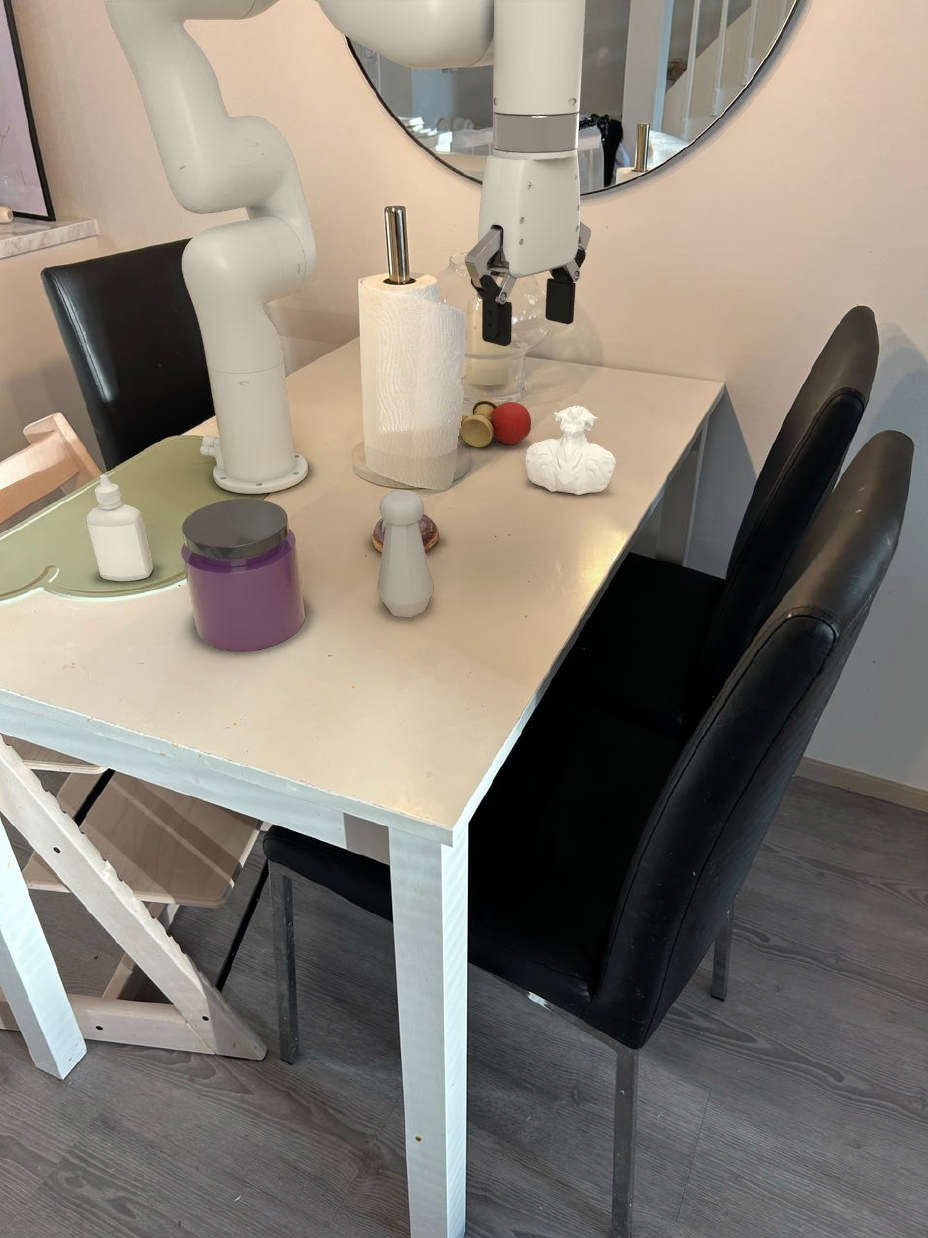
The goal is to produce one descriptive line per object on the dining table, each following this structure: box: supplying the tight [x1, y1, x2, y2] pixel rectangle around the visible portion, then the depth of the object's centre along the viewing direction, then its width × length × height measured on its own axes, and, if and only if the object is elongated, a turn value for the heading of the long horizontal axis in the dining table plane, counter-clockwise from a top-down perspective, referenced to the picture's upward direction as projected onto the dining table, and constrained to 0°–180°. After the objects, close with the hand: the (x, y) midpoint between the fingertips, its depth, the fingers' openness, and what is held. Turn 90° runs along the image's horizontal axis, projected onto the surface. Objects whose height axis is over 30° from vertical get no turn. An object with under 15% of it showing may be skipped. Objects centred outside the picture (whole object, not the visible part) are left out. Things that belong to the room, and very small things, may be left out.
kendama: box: [459, 397, 532, 448], centre depth 131 cm, size 8×6×18 cm
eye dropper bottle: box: [85, 474, 154, 582], centre depth 97 cm, size 4×6×12 cm
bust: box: [524, 404, 617, 496], centre depth 117 cm, size 12×8×11 cm
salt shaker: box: [376, 489, 435, 618], centre depth 91 cm, size 6×6×13 cm
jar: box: [180, 498, 306, 652], centre depth 89 cm, size 11×11×12 cm
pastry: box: [371, 513, 440, 554], centre depth 105 cm, size 8×8×5 cm
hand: (528, 331), depth 88 cm, fingers open, 9 cm apart
